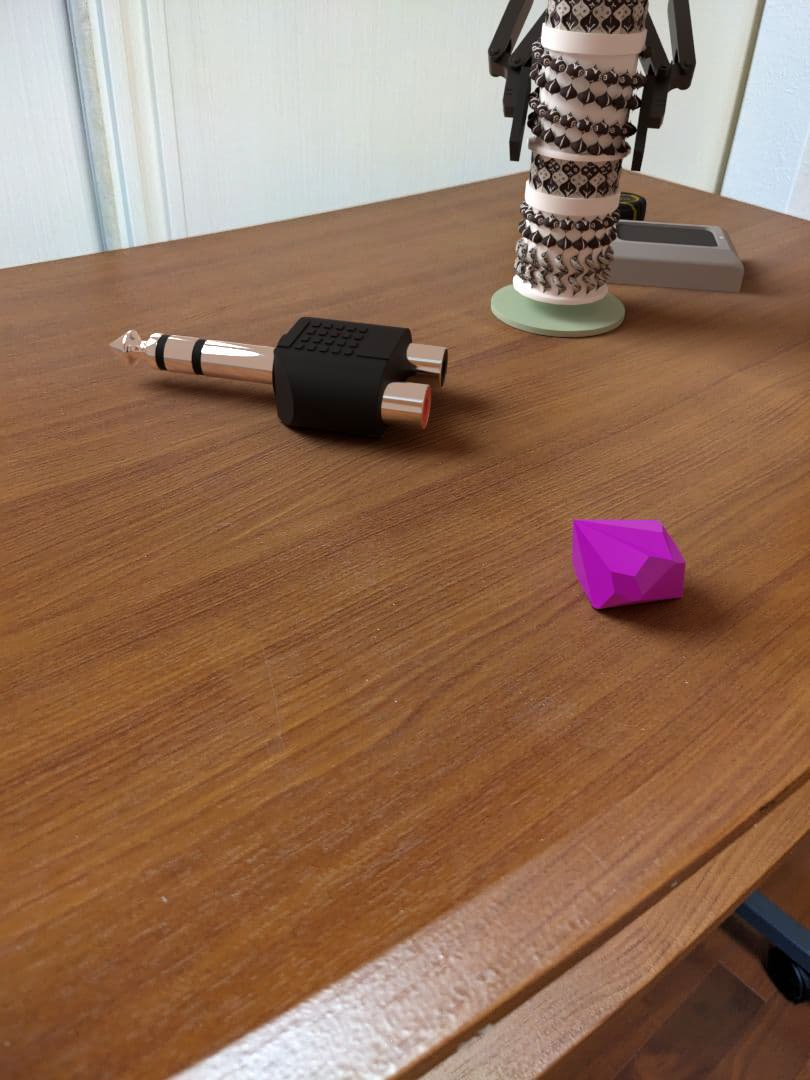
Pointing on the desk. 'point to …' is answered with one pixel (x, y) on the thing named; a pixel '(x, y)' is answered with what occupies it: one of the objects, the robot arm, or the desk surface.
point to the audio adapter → (315, 371)
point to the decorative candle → (578, 146)
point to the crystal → (626, 562)
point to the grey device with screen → (675, 256)
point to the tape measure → (632, 207)
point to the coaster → (557, 314)
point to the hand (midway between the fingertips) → (575, 156)
